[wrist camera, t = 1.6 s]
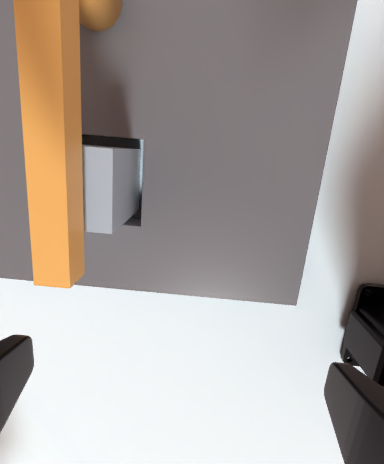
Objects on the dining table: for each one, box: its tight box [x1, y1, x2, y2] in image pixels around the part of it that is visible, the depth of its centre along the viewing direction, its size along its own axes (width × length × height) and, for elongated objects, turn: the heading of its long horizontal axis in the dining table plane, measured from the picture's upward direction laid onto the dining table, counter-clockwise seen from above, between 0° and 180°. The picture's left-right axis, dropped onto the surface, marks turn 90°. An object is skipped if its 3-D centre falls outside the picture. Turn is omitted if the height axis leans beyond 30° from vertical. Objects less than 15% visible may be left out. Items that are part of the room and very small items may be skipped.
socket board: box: [0, 0, 357, 305], centre depth 18 cm, size 22×18×2 cm
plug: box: [82, 144, 141, 234], centre depth 17 cm, size 4×4×6 cm
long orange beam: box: [13, 0, 122, 288], centre depth 14 cm, size 3×14×6 cm, turn 175°
